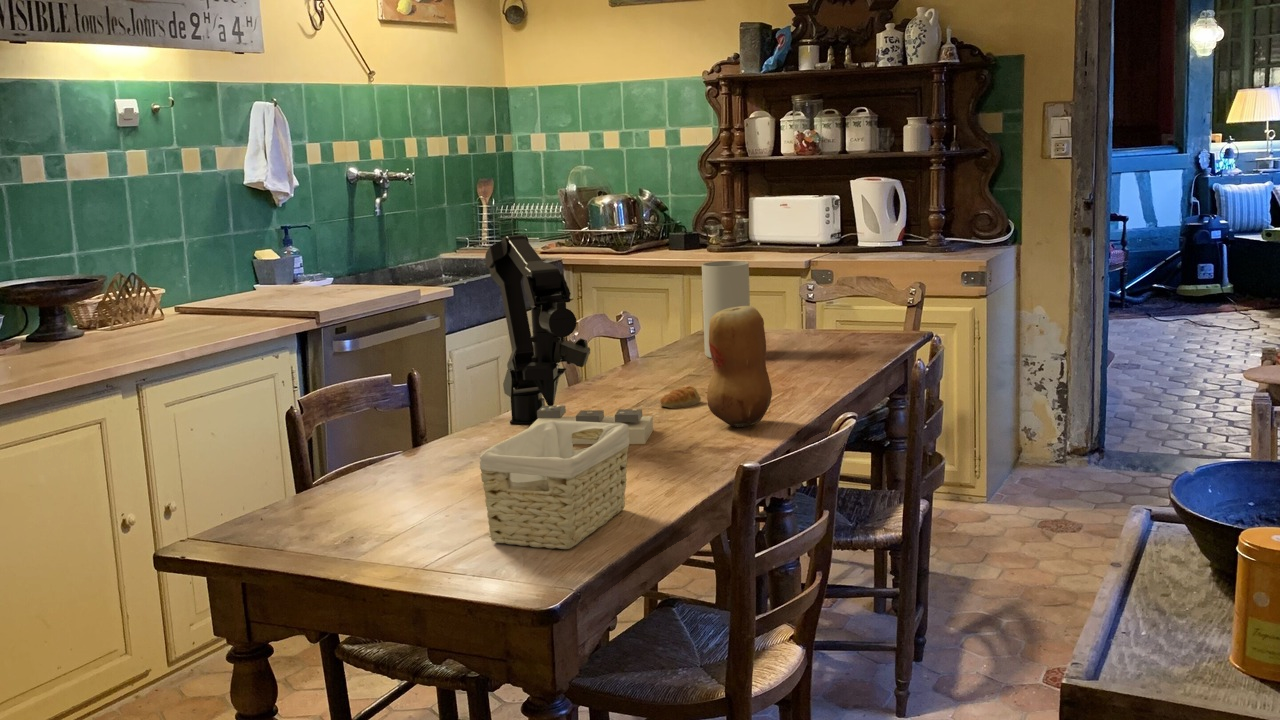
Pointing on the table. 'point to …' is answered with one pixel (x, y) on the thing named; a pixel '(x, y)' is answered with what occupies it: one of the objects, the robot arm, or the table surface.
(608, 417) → the panel
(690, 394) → the pastry
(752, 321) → the butternut squash
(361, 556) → the table surface
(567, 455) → the storage basket
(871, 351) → the table surface
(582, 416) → the button one pip
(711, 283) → the cylinder vase
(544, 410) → the button three pips
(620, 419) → the button two pips
